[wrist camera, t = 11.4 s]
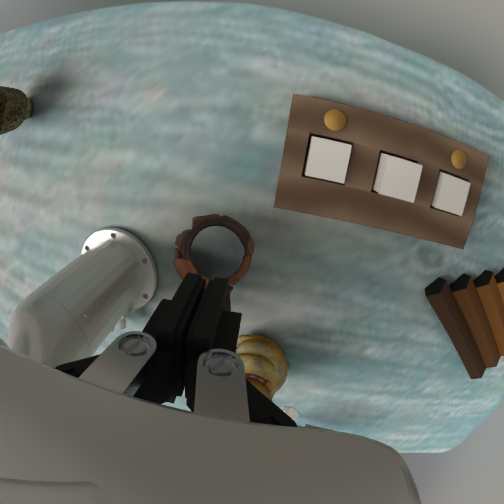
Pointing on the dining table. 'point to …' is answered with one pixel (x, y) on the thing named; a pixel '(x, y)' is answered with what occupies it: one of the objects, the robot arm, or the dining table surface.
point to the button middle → (397, 178)
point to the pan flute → (472, 317)
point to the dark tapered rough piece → (13, 108)
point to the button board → (365, 168)
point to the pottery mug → (188, 236)
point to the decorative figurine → (262, 363)
